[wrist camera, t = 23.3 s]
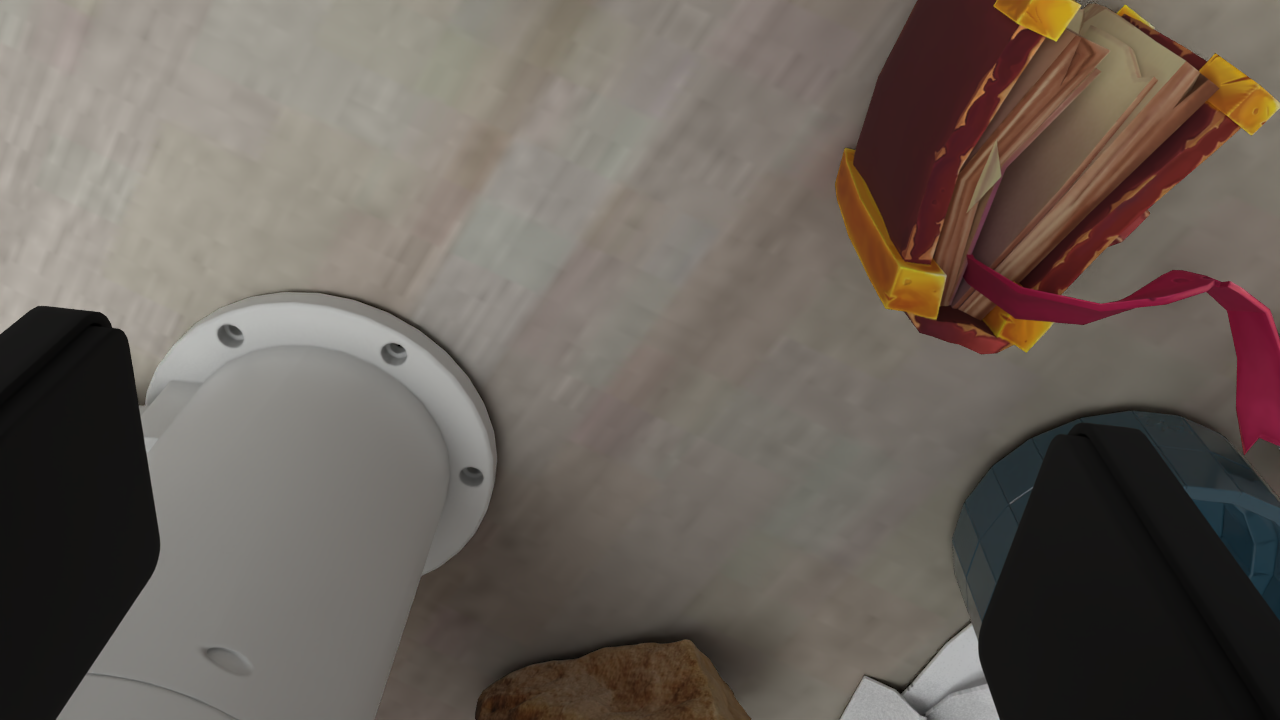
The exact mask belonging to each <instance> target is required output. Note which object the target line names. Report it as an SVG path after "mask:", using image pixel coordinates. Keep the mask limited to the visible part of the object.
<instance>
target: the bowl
mask: <svg viewBox="0 0 1280 720" xmlns="http://www.w3.org/2000/svg"><path fill="white" fill-rule="evenodd" d="M1081 422H1084V423H1093V424H1101V425H1110V426H1119V427H1128V428H1135V429H1139V430H1140V431H1142V432H1143V433H1144V434H1145V435H1146V437H1147V438H1148V439H1149V441H1150V442H1151V443H1152V445H1153V446H1154V448H1155V449H1156V450H1157V452H1158V453H1159V455H1160V456H1161V457H1162V459H1163V460H1164V461H1165V463H1166V464H1167V466H1168V467H1169V468H1170V470H1171V471H1172V473H1173V474H1174V475H1175V477H1176V478H1177V479H1178V481H1179V482H1180V484H1181V485H1182V486H1183V488H1184V489H1185V491H1186V492H1187V493H1188V495H1189V496H1190V497H1191V499H1192V500H1193V502H1194V503H1195V504H1196V506H1197V507H1198V509H1199V510H1200V511H1201V513H1202V514H1203V515H1204V517H1205V518H1206V520H1207V521H1208V522H1209V524H1210V525H1211V526H1212V528H1213V529H1214V531H1215V532H1216V533H1217V535H1218V536H1219V538H1220V539H1221V540H1222V542H1223V543H1224V544H1225V546H1226V547H1227V549H1228V550H1229V551H1230V553H1231V554H1232V556H1233V557H1234V558H1235V560H1236V561H1237V562H1238V564H1239V565H1240V567H1241V568H1242V569H1243V571H1244V572H1245V574H1246V575H1247V576H1248V578H1249V579H1250V580H1251V582H1252V583H1253V585H1254V586H1255V587H1256V589H1257V590H1258V592H1259V593H1260V594H1261V596H1262V597H1263V598H1264V600H1265V601H1266V603H1267V604H1268V605H1269V607H1270V608H1271V610H1272V611H1273V612H1274V614H1275V615H1276V616H1277V618H1278V619H1279V621H1280V498H1279V497H1278V495H1277V494H1276V493H1275V492H1274V491H1273V489H1272V488H1271V487H1270V486H1269V485H1268V483H1267V482H1266V481H1265V480H1264V479H1263V478H1262V476H1261V475H1260V474H1259V473H1258V472H1257V471H1256V469H1255V468H1254V467H1253V466H1252V465H1251V463H1250V462H1249V461H1248V460H1247V459H1246V458H1245V457H1244V456H1243V455H1242V454H1241V453H1240V452H1239V451H1238V450H1237V449H1236V448H1235V447H1234V446H1233V445H1232V444H1231V443H1230V442H1229V441H1228V440H1227V439H1226V438H1225V437H1224V436H1222V435H1221V434H1220V433H1218V432H1215V431H1213V430H1211V429H1209V428H1206V427H1204V426H1202V425H1200V424H1197V423H1195V422H1193V421H1191V420H1188V419H1186V418H1184V417H1181V416H1177V415H1169V414H1160V413H1151V412H1142V411H1124V412H1117V413H1110V414H1104V415H1097V416H1090V417H1083V418H1080V419H1077V420H1074V421H1072V422H1069V423H1067V424H1064V425H1062V426H1059V427H1057V428H1055V429H1052V430H1050V431H1047V432H1045V433H1042V434H1040V435H1037V436H1035V437H1033V438H1032V439H1031V438H1030V439H1029V440H1027V441H1026V442H1025V443H1023V444H1022V445H1021V446H1019V447H1018V448H1016V449H1015V450H1014V451H1012V452H1011V453H1010V454H1008V455H1007V456H1006V457H1004V458H1003V459H1001V460H1000V461H999V462H997V463H996V464H995V465H993V466H992V468H990V470H989V471H988V472H987V473H986V475H985V476H984V477H983V479H982V480H981V481H980V482H979V484H978V485H977V486H976V488H975V489H974V490H973V492H972V493H971V494H970V495H969V497H968V498H967V499H966V501H965V503H964V505H963V508H962V511H961V514H960V517H959V520H958V523H957V526H956V529H955V531H954V534H953V537H952V548H953V562H954V574H955V577H956V580H957V583H958V585H959V588H960V591H961V594H962V597H963V600H964V603H965V605H966V608H967V611H968V614H969V617H970V620H971V623H972V625H973V628H974V631H975V634H976V637H977V640H978V638H979V631H980V628H981V624H982V622H983V619H984V616H985V614H986V611H987V608H988V606H989V603H990V600H991V598H992V595H993V592H994V590H995V587H996V584H997V582H998V579H999V576H1000V574H1001V571H1002V568H1003V566H1004V563H1005V560H1006V558H1007V555H1008V553H1009V550H1010V547H1011V545H1012V542H1013V539H1014V537H1015V534H1016V531H1017V529H1018V526H1019V523H1020V521H1021V518H1022V515H1023V513H1024V510H1025V507H1026V505H1027V502H1028V499H1029V497H1030V494H1031V491H1032V489H1033V486H1034V484H1035V481H1036V478H1037V476H1038V473H1039V470H1040V468H1041V465H1042V462H1043V460H1044V457H1045V454H1046V452H1047V449H1048V447H1049V445H1050V443H1051V441H1052V439H1053V438H1054V437H1055V436H1057V435H1059V434H1065V435H1068V433H1069V431H1070V430H1071V429H1072V428H1073V427H1074V426H1075V425H1076V424H1078V423H1081Z"/></svg>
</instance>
